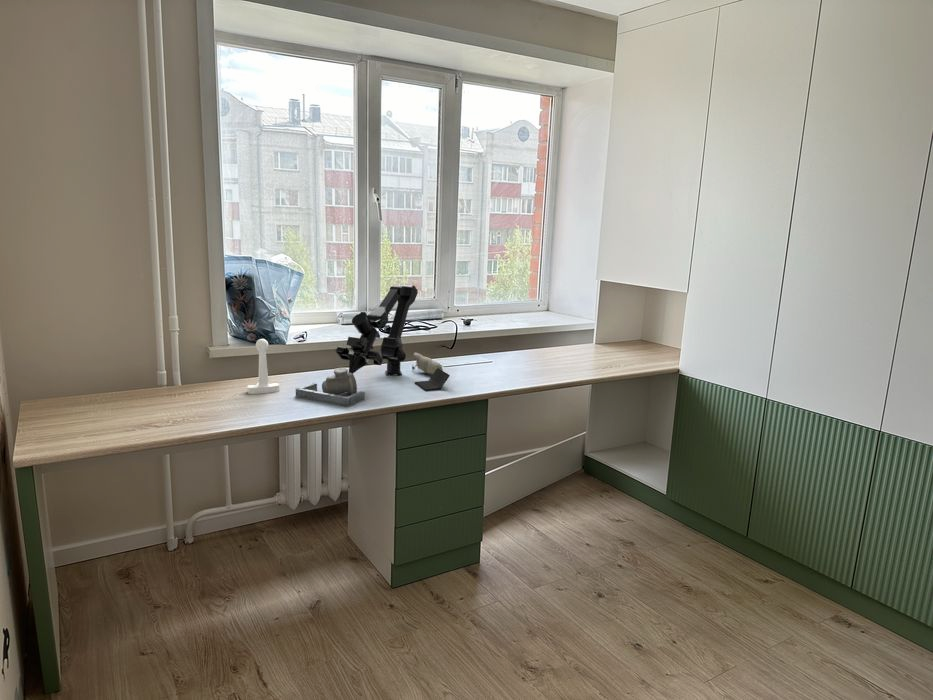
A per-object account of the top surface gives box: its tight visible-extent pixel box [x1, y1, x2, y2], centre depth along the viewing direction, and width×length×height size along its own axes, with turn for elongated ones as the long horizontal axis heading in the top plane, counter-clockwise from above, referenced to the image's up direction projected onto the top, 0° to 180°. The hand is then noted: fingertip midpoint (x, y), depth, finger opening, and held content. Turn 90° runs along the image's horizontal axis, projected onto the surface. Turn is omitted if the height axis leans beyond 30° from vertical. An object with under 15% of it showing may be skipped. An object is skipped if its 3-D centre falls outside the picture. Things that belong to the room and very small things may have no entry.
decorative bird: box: [411, 352, 443, 375], centre depth 266 cm, size 6×17×8 cm, turn 44°
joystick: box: [246, 338, 280, 395], centre depth 232 cm, size 11×8×20 cm
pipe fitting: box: [321, 367, 358, 395], centre depth 231 cm, size 12×8×10 cm
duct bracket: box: [295, 382, 366, 408], centre depth 227 cm, size 10×23×3 cm, turn 64°
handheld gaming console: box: [414, 368, 450, 392], centre depth 247 cm, size 13×8×11 cm
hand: (349, 374), depth 237 cm, fingers closed
